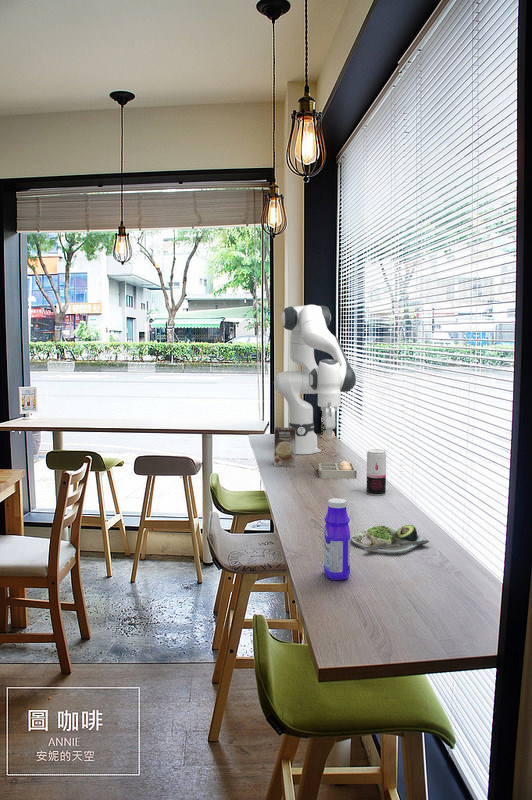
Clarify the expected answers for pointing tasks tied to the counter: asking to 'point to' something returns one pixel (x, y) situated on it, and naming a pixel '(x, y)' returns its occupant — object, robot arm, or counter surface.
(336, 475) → the carton
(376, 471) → the beverage can
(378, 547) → the avocado toast plate
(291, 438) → the coffee box
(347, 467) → the egg
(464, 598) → the counter surface
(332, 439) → the egg
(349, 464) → the egg
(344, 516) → the bottle
